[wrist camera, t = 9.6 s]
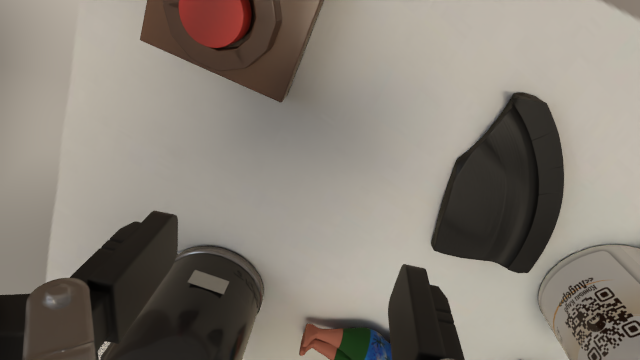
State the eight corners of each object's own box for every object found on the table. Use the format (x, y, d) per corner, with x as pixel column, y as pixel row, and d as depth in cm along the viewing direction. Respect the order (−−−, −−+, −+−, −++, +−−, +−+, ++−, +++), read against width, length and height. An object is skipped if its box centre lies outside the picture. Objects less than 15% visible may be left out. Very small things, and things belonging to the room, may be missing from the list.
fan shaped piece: (602, 106, 25) (617, 113, 24) (523, 262, 31) (531, 275, 30) (481, 85, 26) (489, 90, 24) (426, 244, 32) (429, 256, 30)
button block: (331, -19, 24) (326, -23, 20) (287, 95, 27) (276, 110, 24) (182, -92, 23) (148, -109, 19) (155, 36, 26) (123, 42, 23)
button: (260, -7, 21) (252, -7, 20) (241, 54, 23) (232, 58, 21) (200, -35, 21) (187, -38, 19) (185, 29, 22) (171, 31, 21)
